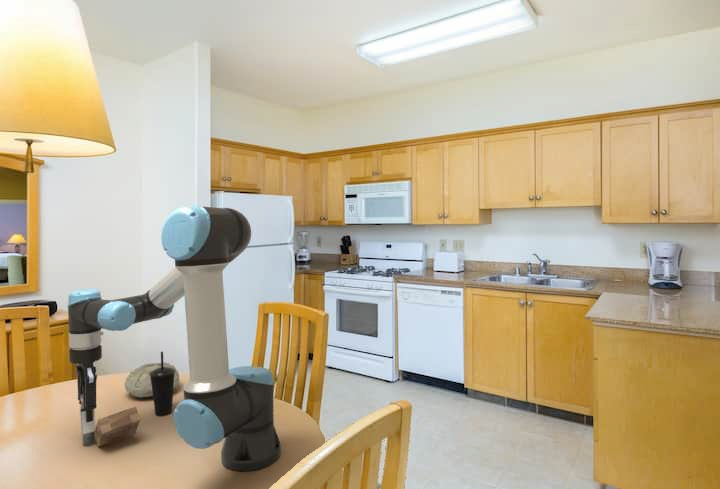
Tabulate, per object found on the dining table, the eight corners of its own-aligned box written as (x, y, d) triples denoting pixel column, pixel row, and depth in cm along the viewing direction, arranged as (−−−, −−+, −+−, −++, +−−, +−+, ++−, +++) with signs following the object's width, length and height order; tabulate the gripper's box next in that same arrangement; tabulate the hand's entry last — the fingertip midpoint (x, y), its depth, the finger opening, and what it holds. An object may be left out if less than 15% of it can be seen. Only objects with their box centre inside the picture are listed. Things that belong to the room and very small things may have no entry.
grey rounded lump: (175, 400, 151) (174, 372, 150) (118, 405, 147) (117, 376, 146) (183, 382, 168) (182, 356, 168) (133, 386, 164) (132, 360, 164)
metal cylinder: (96, 443, 121) (94, 394, 120) (83, 447, 119) (81, 397, 118) (94, 439, 124) (92, 391, 123) (81, 442, 122) (79, 393, 121)
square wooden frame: (140, 419, 120) (136, 406, 122) (102, 433, 114) (98, 419, 115) (134, 433, 126) (130, 420, 128) (98, 447, 119) (94, 433, 121)
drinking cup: (145, 415, 139) (143, 353, 138) (165, 406, 146) (164, 347, 145) (161, 420, 136) (159, 356, 135) (181, 410, 142) (180, 350, 141)
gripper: (108, 350, 116) (110, 436, 118) (94, 337, 128) (96, 416, 129) (75, 355, 111) (77, 445, 113) (64, 342, 123) (66, 423, 124)
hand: (87, 429), depth 121 cm, fingers closed on metal cylinder, 3 cm apart
